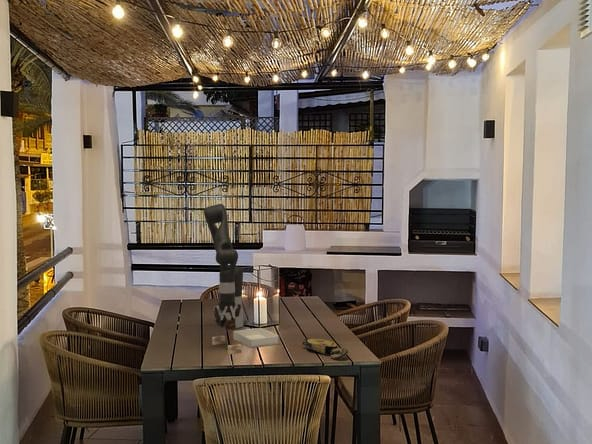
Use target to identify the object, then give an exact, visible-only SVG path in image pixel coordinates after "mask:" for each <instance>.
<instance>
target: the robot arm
mask: <svg viewBox="0 0 592 444" xmlns="http://www.w3.org/2000/svg"><path fill="white" fill-rule="evenodd" d="M203 214H204V219H205V222H206V225H207V226H208V227H207V228H208V230H209V233H210V235H211V239H212V244H213V246H214V250H215V261H216V263H217V264H218V265H219V268H220V269H219V270H220V271H219V285H218V305H216V306H215V305H214V306H212V310H213V313H214V314H213V315H214V318H215V319H216V318H217V319H219V325H218V327H220V328H221V329H223V328H224V325H223V317H224V315H225V316H226V318H227V320H232V321H233V322H234V324H235V325H236V328H235V329H238V328H241V327H244V309H243V283H244V282H243V281H244V271H243V268H242V267H241V266H237V264H238V260H239V253H238V251H237V249H234V248H233V244H232V240H231V236H230V233H229V220H228V214H227V209H226V207H225V205H224V204H223V203H218V204H214V205H210V206H206V207H205V208H204V210H203ZM218 223H219V227H217V226H216V224H218ZM219 310H220V311H219Z"/></svg>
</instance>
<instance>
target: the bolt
mask: <svg viewBox="0 0 592 444" xmlns="http://www.w3.org/2000/svg"><path fill="white" fill-rule="evenodd" d="M214 321H215V323H216V325H217V326H219V319H217V318H215V320H214ZM223 327H224V328H225V330H226V331H229V330H231V331H235V329H237V328H236V325H235V324H234V322H233V321H232V320H227V318H226V316H225V315H224V317H223Z"/></svg>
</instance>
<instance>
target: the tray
mask: <svg viewBox="0 0 592 444" xmlns="http://www.w3.org/2000/svg"><path fill="white" fill-rule="evenodd" d="M232 340H234V341H236V342H238V343H239V344H241V345H244V346H246V347H248V348H249V349H254V348H261V347H269V346H270V347H271V346H277V345H280V335H278V334H275V333H273V332H271V331H269V330H266V329H265V328H262V327H257V328H248V329H247V328H246V329H241V330H240V329H238V330H232Z"/></svg>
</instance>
